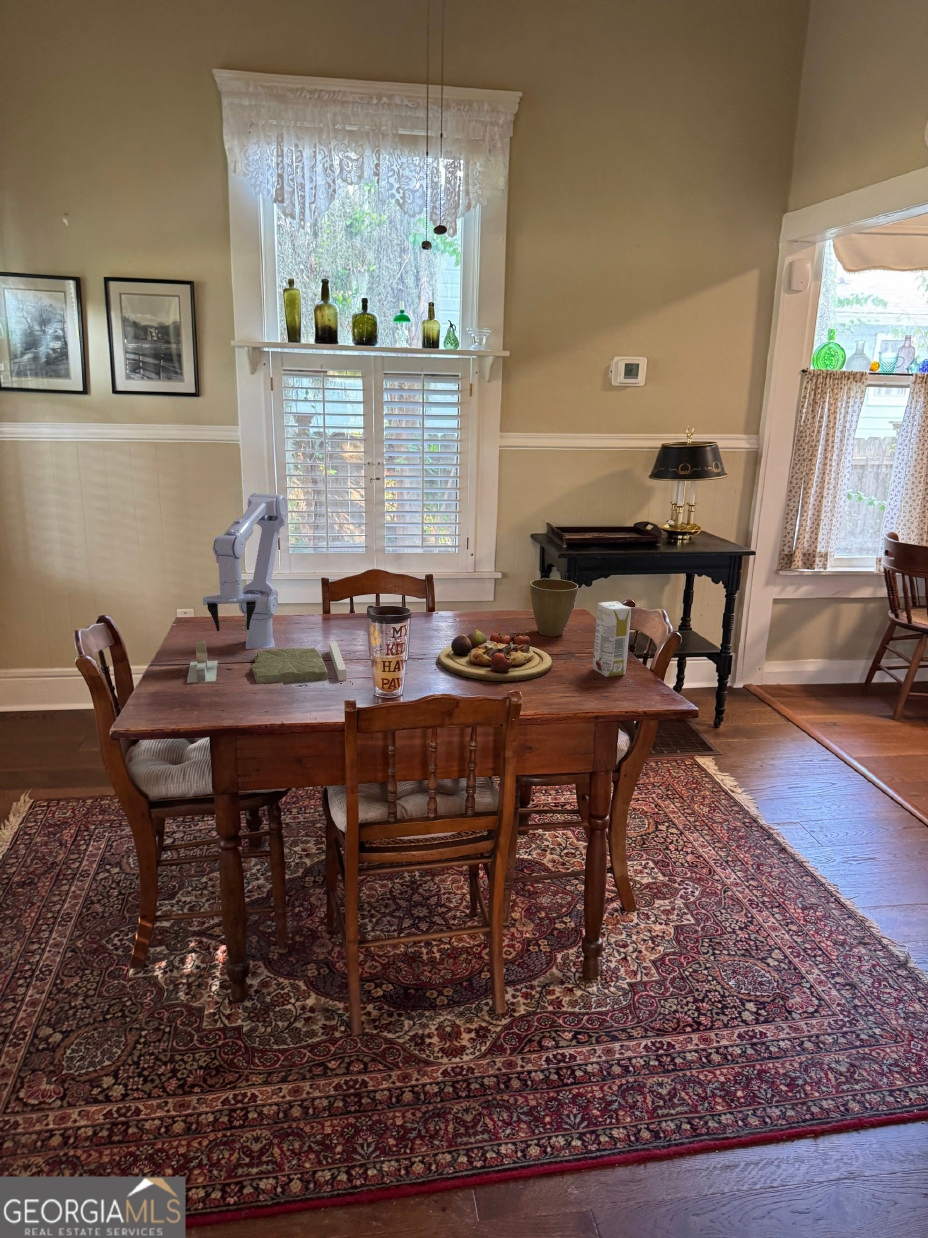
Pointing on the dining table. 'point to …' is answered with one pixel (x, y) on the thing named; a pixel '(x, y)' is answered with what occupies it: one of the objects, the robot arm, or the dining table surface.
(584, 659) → the dining table surface
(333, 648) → the rail
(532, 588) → the plant pot
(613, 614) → the juice carton
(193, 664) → the mat
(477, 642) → the wooden plate with food
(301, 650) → the decorative tile
